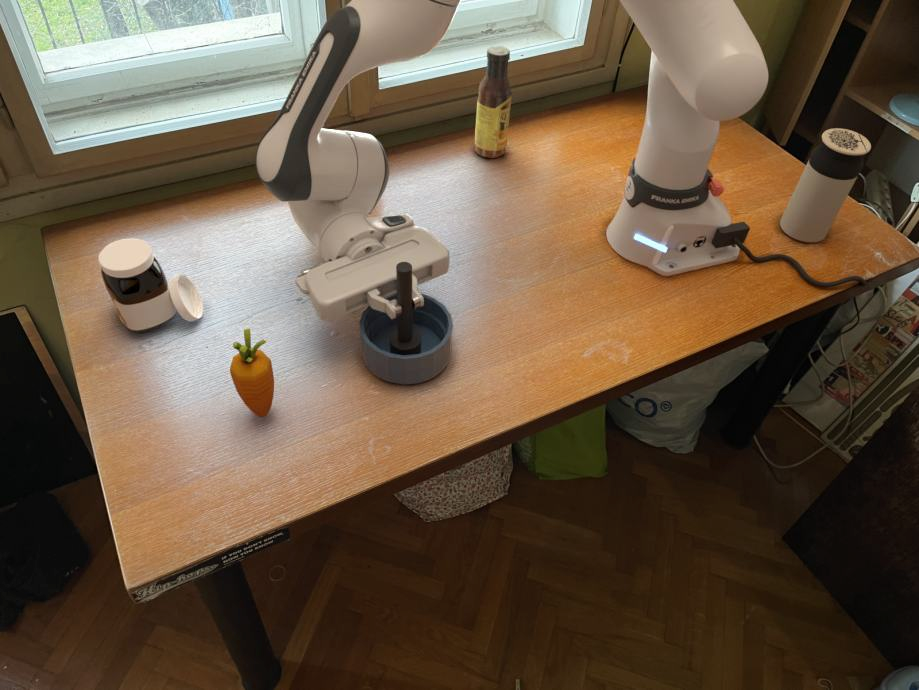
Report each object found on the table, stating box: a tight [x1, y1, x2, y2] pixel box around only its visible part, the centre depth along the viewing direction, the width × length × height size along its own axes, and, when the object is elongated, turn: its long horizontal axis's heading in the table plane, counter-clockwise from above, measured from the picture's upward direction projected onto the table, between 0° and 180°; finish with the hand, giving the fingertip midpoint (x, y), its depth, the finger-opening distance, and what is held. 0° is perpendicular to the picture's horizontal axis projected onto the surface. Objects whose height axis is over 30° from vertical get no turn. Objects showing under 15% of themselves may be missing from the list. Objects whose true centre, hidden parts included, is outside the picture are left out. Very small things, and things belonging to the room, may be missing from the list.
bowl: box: [358, 292, 454, 385], centre depth 102 cm, size 13×13×6 cm
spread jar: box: [98, 237, 204, 333], centre depth 102 cm, size 12×11×12 cm
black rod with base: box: [389, 262, 421, 355], centre depth 96 cm, size 4×4×16 cm
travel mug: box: [779, 127, 872, 243], centre depth 121 cm, size 8×8×18 cm
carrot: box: [229, 328, 275, 418], centre depth 89 cm, size 5×5×15 cm
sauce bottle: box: [474, 45, 513, 159], centre depth 133 cm, size 7×6×20 cm
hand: (408, 309), depth 94 cm, fingers closed on black rod with base, 2 cm apart
